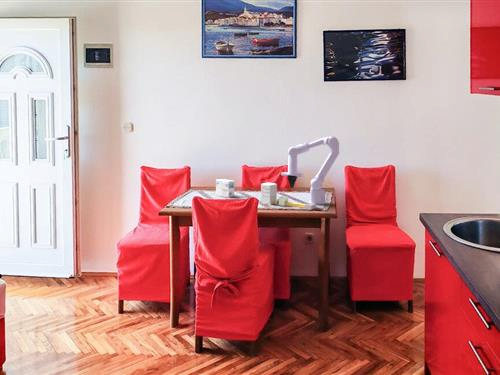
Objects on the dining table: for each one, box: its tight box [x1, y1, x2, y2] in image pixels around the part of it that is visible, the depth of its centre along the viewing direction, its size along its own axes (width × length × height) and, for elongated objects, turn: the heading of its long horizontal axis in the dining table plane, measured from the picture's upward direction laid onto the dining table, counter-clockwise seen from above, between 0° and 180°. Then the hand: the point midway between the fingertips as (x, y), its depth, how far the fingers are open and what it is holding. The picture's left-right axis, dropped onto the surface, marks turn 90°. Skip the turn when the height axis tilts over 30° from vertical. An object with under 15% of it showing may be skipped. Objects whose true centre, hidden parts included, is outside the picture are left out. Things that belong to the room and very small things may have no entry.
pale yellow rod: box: [273, 198, 307, 209], centre depth 390 cm, size 24×4×4 cm, turn 62°
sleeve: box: [278, 195, 289, 207], centre depth 393 cm, size 4×5×5 cm
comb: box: [304, 203, 317, 210], centre depth 384 cm, size 4×7×3 cm, turn 152°
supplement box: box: [260, 182, 278, 206], centre depth 397 cm, size 7×7×13 cm
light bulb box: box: [215, 178, 235, 198], centre depth 419 cm, size 11×7×11 cm, turn 58°
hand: (291, 187), depth 398 cm, fingers closed
